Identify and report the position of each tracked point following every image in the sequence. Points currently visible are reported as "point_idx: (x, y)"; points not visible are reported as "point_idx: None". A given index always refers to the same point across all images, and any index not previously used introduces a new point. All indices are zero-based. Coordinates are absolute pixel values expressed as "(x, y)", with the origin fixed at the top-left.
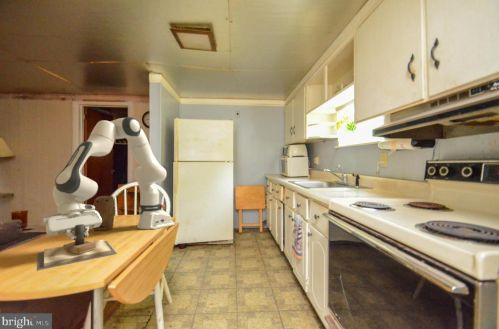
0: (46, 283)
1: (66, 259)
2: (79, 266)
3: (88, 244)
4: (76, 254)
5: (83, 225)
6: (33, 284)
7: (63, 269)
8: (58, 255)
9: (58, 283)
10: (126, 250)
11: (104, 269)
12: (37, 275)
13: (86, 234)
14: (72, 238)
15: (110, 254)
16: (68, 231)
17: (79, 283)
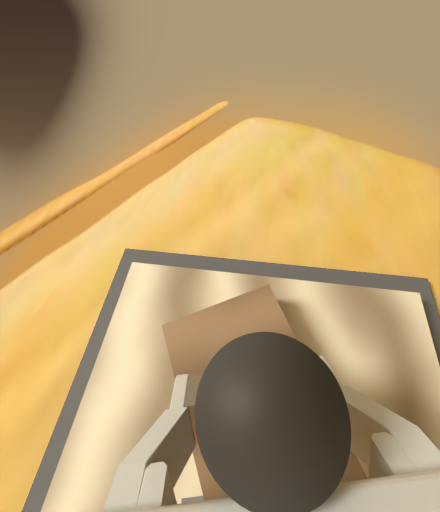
0: (365, 171)
1: (321, 284)
2: (272, 232)
3: (209, 316)
4: None
5: (220, 351)
6: (400, 184)
7: (324, 241)
8: (367, 381)
9: (334, 155)
10: (67, 282)
11: (217, 164)
12: (408, 245)
13: (194, 379)
14: (322, 359)
15: (146, 259)
16: (408, 432)
17: (288, 130)
